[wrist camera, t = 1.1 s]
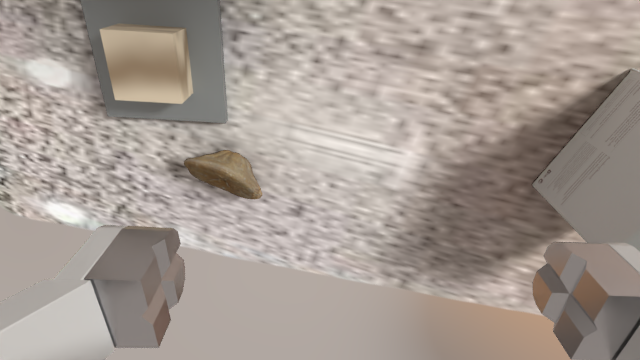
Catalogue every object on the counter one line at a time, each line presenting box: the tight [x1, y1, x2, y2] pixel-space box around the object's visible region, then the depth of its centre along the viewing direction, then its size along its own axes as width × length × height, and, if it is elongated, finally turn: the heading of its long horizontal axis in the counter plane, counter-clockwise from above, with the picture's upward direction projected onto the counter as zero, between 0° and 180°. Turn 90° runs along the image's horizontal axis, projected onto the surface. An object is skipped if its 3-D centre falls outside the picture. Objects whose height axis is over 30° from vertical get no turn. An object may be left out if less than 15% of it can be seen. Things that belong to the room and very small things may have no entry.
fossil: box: [184, 150, 262, 199], centre depth 47 cm, size 9×4×10 cm
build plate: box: [81, 0, 228, 123], centre depth 42 cm, size 14×14×1 cm
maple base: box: [100, 24, 193, 104], centre depth 39 cm, size 7×7×4 cm
